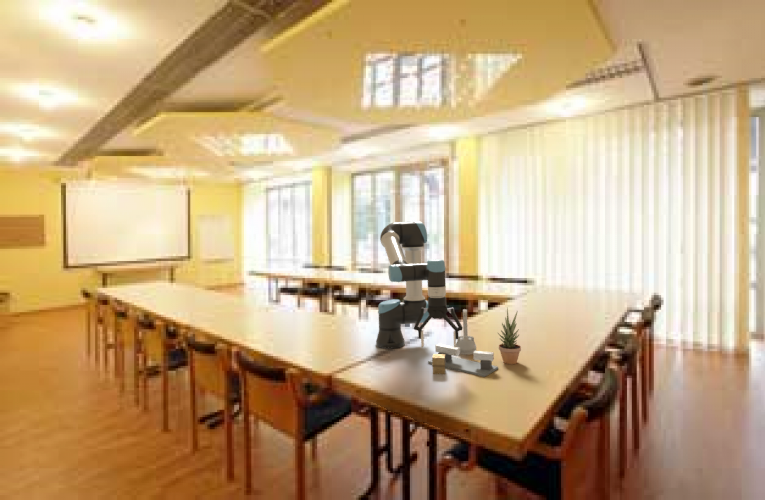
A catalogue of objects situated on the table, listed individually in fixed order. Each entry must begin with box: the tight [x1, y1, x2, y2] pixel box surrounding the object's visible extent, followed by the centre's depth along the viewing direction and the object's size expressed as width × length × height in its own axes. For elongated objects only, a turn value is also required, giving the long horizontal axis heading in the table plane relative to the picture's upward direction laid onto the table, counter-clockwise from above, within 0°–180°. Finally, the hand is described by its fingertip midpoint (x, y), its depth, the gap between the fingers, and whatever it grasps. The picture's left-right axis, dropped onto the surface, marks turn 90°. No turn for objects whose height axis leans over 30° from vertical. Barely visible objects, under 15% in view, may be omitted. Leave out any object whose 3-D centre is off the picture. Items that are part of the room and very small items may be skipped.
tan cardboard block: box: [431, 353, 446, 375], centre depth 174 cm, size 5×5×7 cm
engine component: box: [456, 309, 477, 356], centre depth 201 cm, size 11×20×10 cm
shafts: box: [435, 343, 495, 362], centre depth 181 cm, size 27×6×3 cm, turn 48°
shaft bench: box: [427, 352, 499, 378], centre depth 180 cm, size 28×12×4 cm, turn 48°
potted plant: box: [497, 307, 522, 365], centre depth 183 cm, size 10×10×25 cm
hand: (438, 346), depth 173 cm, fingers open, 13 cm apart
